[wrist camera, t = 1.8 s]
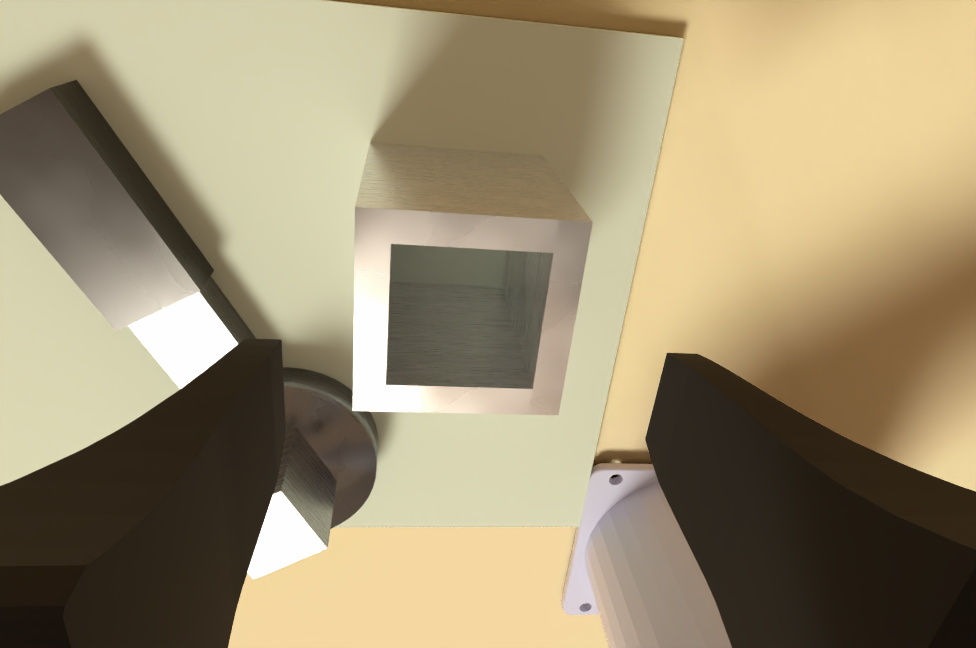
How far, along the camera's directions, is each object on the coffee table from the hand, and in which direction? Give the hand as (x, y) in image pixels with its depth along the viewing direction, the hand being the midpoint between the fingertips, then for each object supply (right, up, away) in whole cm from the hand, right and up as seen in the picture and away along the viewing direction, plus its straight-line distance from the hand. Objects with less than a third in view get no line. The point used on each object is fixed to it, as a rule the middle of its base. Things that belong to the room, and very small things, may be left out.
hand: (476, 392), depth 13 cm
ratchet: (-9, +1, +9) cm, 12 cm away
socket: (-1, +4, +8) cm, 9 cm away
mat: (-6, +2, +9) cm, 11 cm away
